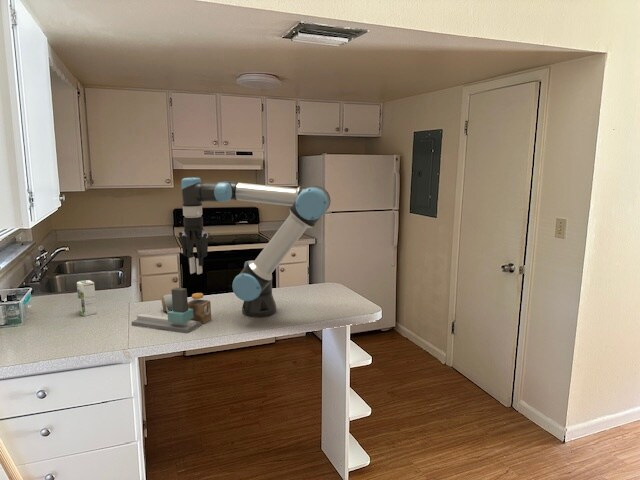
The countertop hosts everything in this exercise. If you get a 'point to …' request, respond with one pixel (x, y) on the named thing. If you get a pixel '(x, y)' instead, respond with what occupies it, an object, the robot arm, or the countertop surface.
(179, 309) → the carriage
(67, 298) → the countertop surface
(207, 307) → the gauge cabinet
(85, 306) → the syrup box
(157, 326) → the rail
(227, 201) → the robot arm
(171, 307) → the ceramic mug
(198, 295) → the button
